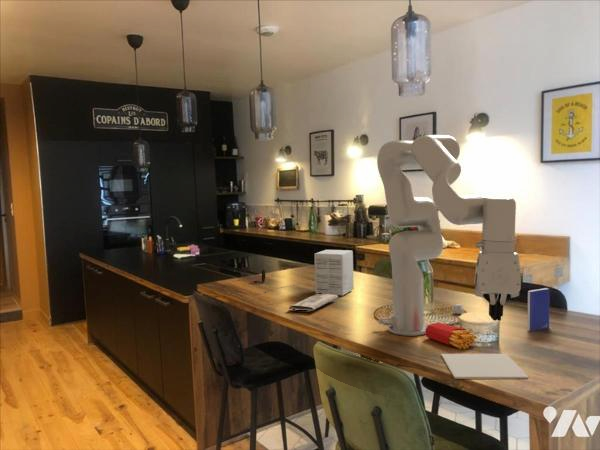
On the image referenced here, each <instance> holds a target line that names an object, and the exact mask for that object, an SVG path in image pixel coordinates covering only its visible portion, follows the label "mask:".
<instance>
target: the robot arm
mask: <svg viewBox="0 0 600 450" xmlns="http://www.w3.org/2000/svg"><path fill="white" fill-rule="evenodd" d="M460 150H461V147H460V144H459V142H458V141H457V139H455V137H453V136H450V135H447V134H445V135H444V134H443V135H442V134H424V135H421V136H419V137H417V138H415V139H414V140H407V139H406V140H401V139H400V140H392V141H391V140H390V141H387V142H386V143H384V144H382V145H381V147H380V148H379V150H378V153H377V159H376V160H377V162H376V164H377V165H376V166H377V169H378V174H379V177H380V179H381V182H382V184H383V188H384V190H383V191H384V196H385V202H386V208H387V216H388V219H389V222H390V224H391V225H392V226H393V227H395V228H415V227H417V229H418V230H407V231H400V232H397V233H394V234H393V235H392V236H391V238H390V239H389V242H388V251H389V257H390V261H391V270H392V271H391V273H392V279H391V280H392V313H391V315H390V316H388V317H378V324H379V325H380V324H381V325H382V324H383V326H388V327H387V329H388V331H389V332H390V333H392V334H394V335H399V336H406V337H408V336H409V337H415V336H423V335H426V328H427V326H428V325H426V323H425V318H424V316H425V313H424V312H425V311H424V308H425V307H424V306H425V305H424V303H425V301H424V300H425V299H424V274H423V272H422V269H421V268H420V265H419V264H418V262H419V261H427V260H428V261H429V260H434V259H436V258H437V259H438V258H439V257H440V256H441V254H442V252H443V249H444V241H443V240H444V239H443V235H442V229H441V222H440V217H439V213H441V214H442V216H443V217H444V218H445V220H447V221H448V222H449V223H451V224H452V225H456V226H465V225H478V224H479V225H480V224H481V225H482V229H481V230H482V231H481V232H482V235H481V240H480V241H479V242H476V243H475V247H476V248H477V249H480V251H478V255H477V260H476V264H475V275H474V290H473V291H474V292H473V294H474V296H475V297H480V298H482V299H483V298H484V299H485V300H486V301H487V302H488V316H489V317H490V318H491V319H492V320H493V321H498V322H499V321H501V320H502V317H503V316H504V305H505V304H506V302H507V301H509V300H510V299H511V298H517V297H519V296H520V291H521V287H522V286H521V285H522V283H521V282H522V281H521V265H520V258H519V253H518V252H515V245H516V244H515V243H516V242H515V239H516V214H517V203H516V200H515V199H514V198H513V197H509V196H495V195H494V196H493V195H490V194H464V195H459V194H458V193H457V192H456V191H455V190H454V188H453V187H452V186H451V185H453V184H454V183H455V182H456V181H457V180H458V178H459V177H460V175H461V172H462V166H461V165H460V163H459V161H457V160H458V158H459V156H460V152H461V151H460ZM404 168H405V169H407V168H409V169H410V168H416V169H417V168H418V169H419V168H421V169H422V170H423V172H424V173H425V174H426V175H427V177H428V178H429V179H430V181H431V182H432V186H431V192H432V193H431V195H432V199H433V200H432V199H431V198H429V197H425V196H414V193H413V189H412V183H411V181H410V179H409V177H408V176H407V175H406V173H405V172H404V171H403V170H402V169H404ZM438 211H439V212H438ZM496 295H497V297H496Z"/></svg>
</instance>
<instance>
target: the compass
mask: <svg viewBox="0 0 600 450" xmlns="http://www.w3.org/2000/svg"><path fill="white" fill-rule="evenodd" d="M265 281H266V269H265V268H263V269H262V270H261V281H260V280H252V281H249V283H248V284H250V285H259V284H261V283H265Z"/></svg>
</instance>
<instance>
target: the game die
mask: <svg viewBox="0 0 600 450" xmlns="http://www.w3.org/2000/svg"><path fill="white" fill-rule="evenodd" d="M452 312H453V313H454V315H455V314H456V315H460V314H462V313H463V312H464V306H462V304H460V303H456V304H454V305H453V307H452Z"/></svg>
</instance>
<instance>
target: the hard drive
mask: <svg viewBox="0 0 600 450" xmlns="http://www.w3.org/2000/svg"><path fill="white" fill-rule="evenodd" d="M544 329H545V330H546V329H550V288H548V287H544V288H539V289H531V290H528V291H527V332H536V331H539V330H544Z"/></svg>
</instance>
